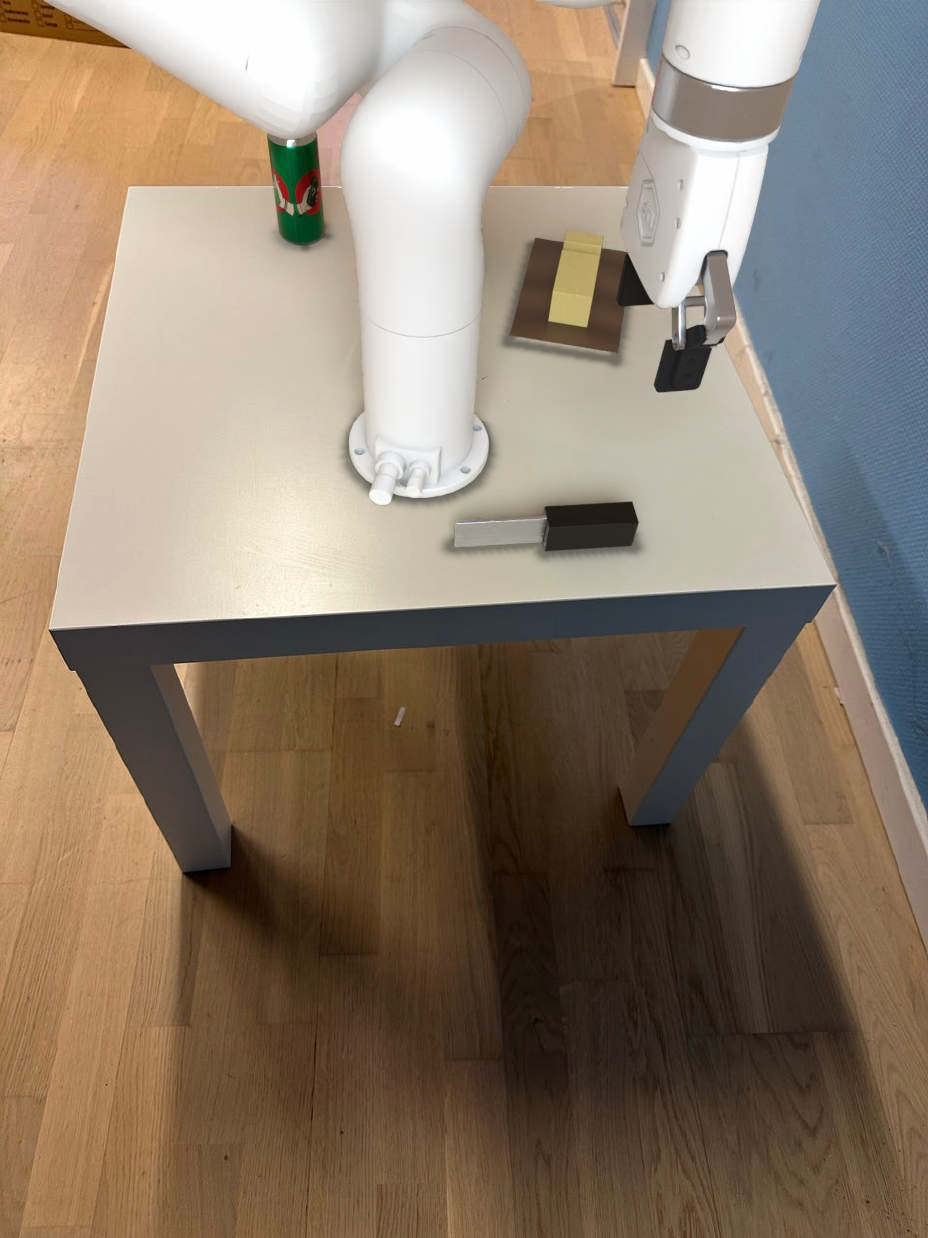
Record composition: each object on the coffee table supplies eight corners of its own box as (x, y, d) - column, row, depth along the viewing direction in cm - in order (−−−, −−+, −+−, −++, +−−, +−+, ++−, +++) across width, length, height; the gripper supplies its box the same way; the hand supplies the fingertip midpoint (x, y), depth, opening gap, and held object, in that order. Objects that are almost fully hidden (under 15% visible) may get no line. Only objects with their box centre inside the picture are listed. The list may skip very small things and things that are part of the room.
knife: (455, 557, 74) (457, 533, 72) (452, 535, 75) (454, 510, 73) (631, 546, 76) (639, 522, 73) (625, 524, 77) (632, 500, 75)
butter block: (586, 327, 91) (592, 297, 88) (548, 321, 91) (552, 291, 89) (594, 285, 95) (600, 255, 93) (557, 279, 96) (562, 249, 93)
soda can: (329, 224, 101) (320, 114, 91) (320, 249, 98) (310, 139, 89) (285, 220, 101) (271, 109, 92) (275, 245, 98) (260, 133, 89)
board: (616, 361, 90) (618, 352, 89) (508, 343, 91) (509, 335, 90) (630, 260, 100) (632, 252, 99) (533, 245, 101) (534, 237, 100)
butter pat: (596, 276, 96) (601, 246, 94) (559, 270, 97) (564, 240, 94) (597, 265, 98) (603, 236, 95) (561, 260, 98) (566, 230, 95)
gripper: (616, 29, 55) (576, 277, 69) (706, 175, 45) (638, 430, 59) (732, 26, 56) (669, 271, 70) (844, 169, 46) (745, 421, 60)
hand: (655, 343), depth 65 cm, fingers open, 9 cm apart
